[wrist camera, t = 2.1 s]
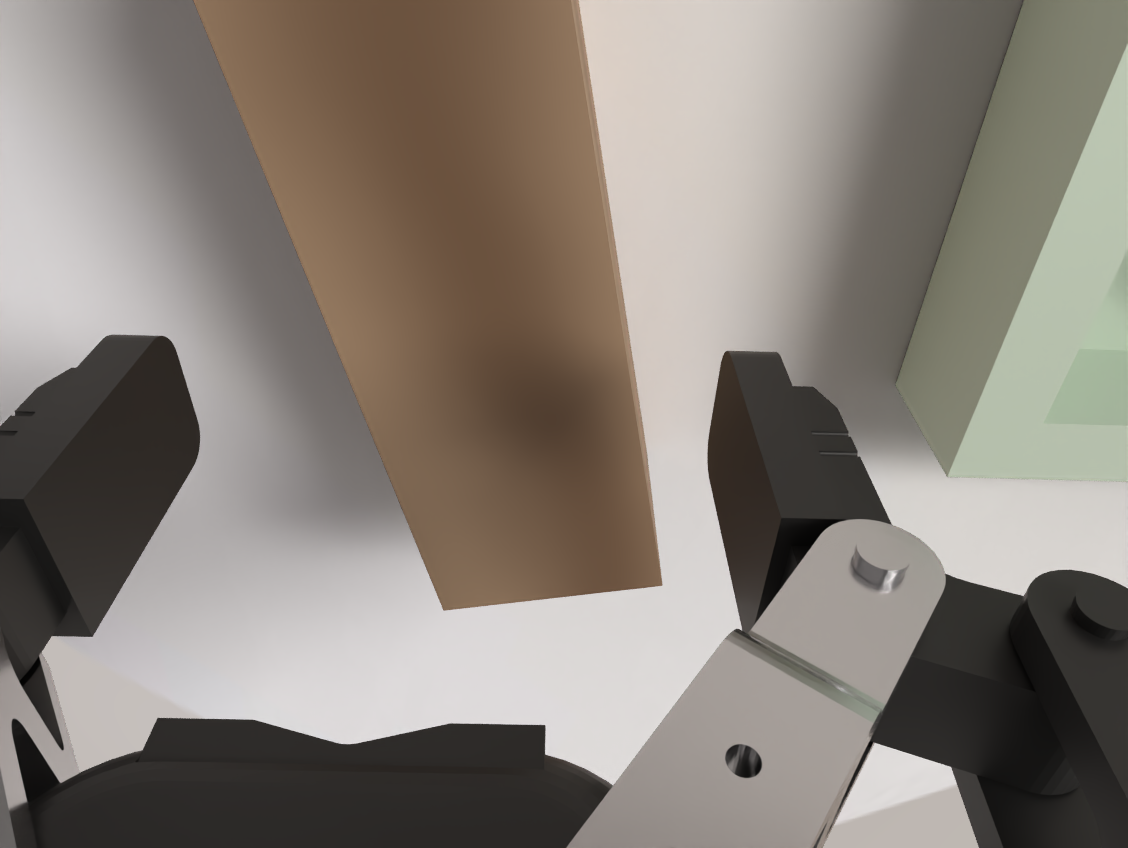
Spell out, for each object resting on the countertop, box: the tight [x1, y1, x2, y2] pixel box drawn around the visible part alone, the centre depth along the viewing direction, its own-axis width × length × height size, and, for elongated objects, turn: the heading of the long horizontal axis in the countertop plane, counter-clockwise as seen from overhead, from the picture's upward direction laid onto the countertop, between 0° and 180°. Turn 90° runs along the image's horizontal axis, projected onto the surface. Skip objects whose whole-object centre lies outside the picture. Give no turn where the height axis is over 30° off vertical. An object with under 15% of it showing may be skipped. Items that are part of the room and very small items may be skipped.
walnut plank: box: [193, 0, 662, 610], centre depth 16 cm, size 5×15×5 cm, turn 10°
